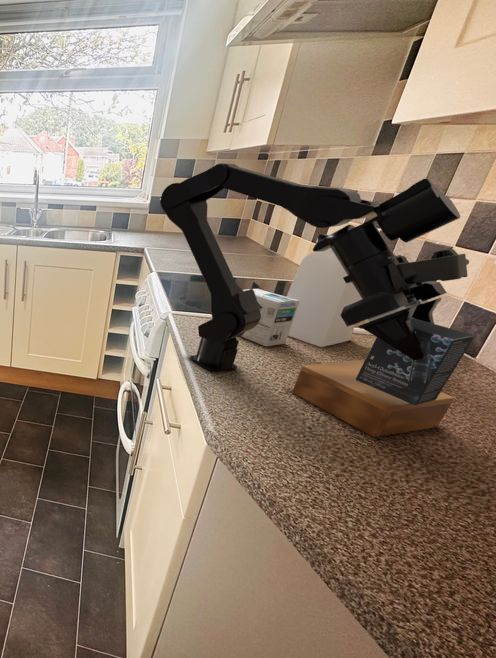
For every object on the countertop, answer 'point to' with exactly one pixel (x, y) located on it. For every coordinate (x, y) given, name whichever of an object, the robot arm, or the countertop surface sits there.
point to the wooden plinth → (365, 400)
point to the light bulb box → (272, 318)
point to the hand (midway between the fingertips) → (427, 355)
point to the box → (416, 363)
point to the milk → (321, 300)
